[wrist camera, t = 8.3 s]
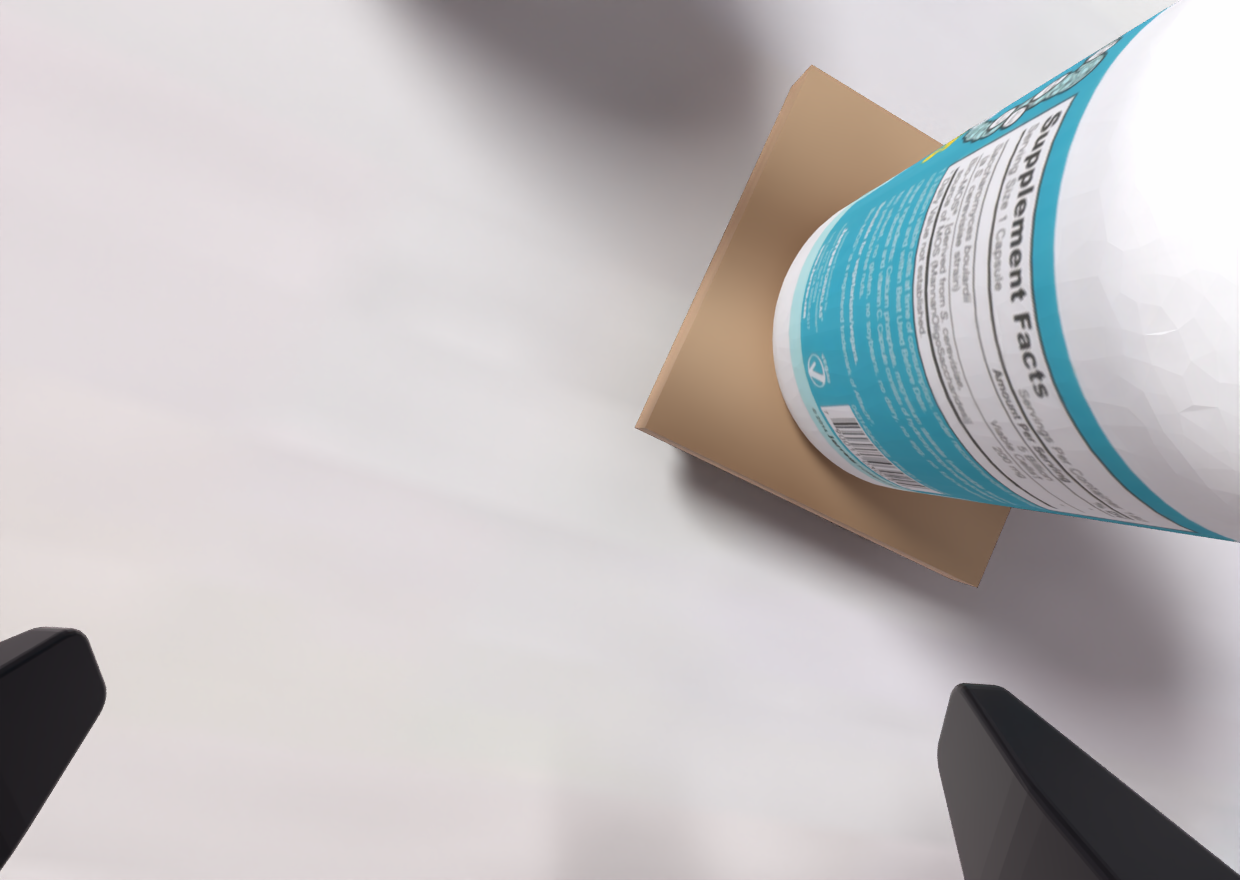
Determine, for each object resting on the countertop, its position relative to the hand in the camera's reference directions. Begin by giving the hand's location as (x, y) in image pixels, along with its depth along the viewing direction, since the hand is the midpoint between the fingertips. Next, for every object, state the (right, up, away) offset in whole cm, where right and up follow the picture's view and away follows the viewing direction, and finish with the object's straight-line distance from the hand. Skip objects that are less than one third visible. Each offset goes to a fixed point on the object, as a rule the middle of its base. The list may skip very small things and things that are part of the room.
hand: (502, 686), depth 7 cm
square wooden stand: (+8, +5, +14) cm, 17 cm away
